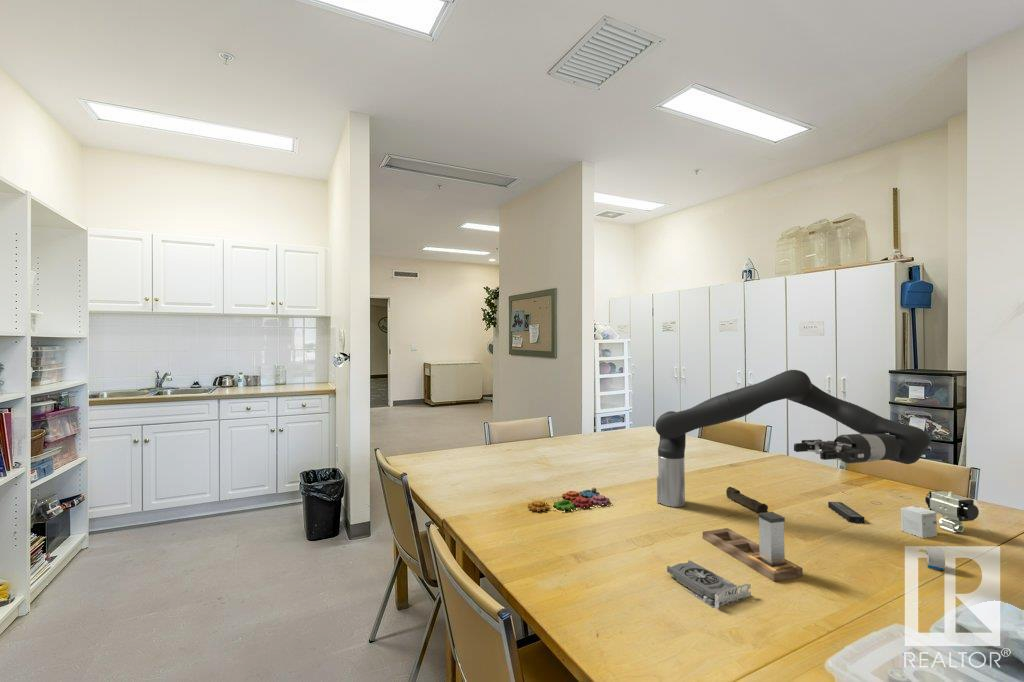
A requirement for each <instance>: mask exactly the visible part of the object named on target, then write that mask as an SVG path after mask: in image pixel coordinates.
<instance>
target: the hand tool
mask: <svg viewBox="0 0 1024 682" xmlns="http://www.w3.org/2000/svg"><path fill="white" fill-rule="evenodd" d="M725 493H726V497H727V499H728V500H730V499H731V500H730V501H731V502H733V501H734V503H738V504H740V505H742V506H745V507H746V508H748V509H750V510H752V511H754V512H756V513H757V514H758V513H765V512H768V510H769V506H768V505H767V504H766V503H762V502H760V501H758V500H756V499H754V498H751V497H749V496H747V495H745V494H743V493H741V490H739V489H737V488H735V487H733V486H728V487H727V488H726V491H725Z"/></svg>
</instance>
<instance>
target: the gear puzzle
mask: <svg viewBox="0 0 1024 682" xmlns="http://www.w3.org/2000/svg"><path fill="white" fill-rule="evenodd" d="M549 497H550V498H548V497H547V498H545V499H546V500H548V499H558V500H560V499H559V498H561V497H562V498H563V499H561V500H562V501H561V500H560V501H558V500H557V501H558V502H554V505H553V507H554V508H556V509H557V510H559V511H564V510H568V511H570V510H571V509H572V510H576V508H577V509H584V510H585V508H584V507H588V509H589V508H590V507H595V506H597V507H598V506H602V507H603V505H602V504H605V505H604V506H607V505H611V504H613V503H612V502H611V500H610V498H609V497H606V496H605V495H603V494H600V492H598V491H597V488H596V487H592V488H591V490H590V489H585V490H582V491H579V492H578V491H576V490H575V491H574V490H568V491H566V492H565V493H564V492H563V493H562V495H561V496H555V497H554V496H549ZM553 501H554V500H553ZM593 505H594V506H593ZM548 506H549V507H548ZM611 506H612V505H611ZM595 508H596V507H595ZM598 508H599V507H598ZM527 509H529V510H531V511H532V510H533V511H536V510H537V511H536V512H538V511H539V512H546V511H547V510H546V509H549V510H550V505H548V504H545V502H543V500H534V501H533V500H532V502H531V503H527ZM541 510H543V511H541ZM545 510H546V511H545Z"/></svg>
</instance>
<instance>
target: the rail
mask: <svg viewBox="0 0 1024 682" xmlns="http://www.w3.org/2000/svg"><path fill="white" fill-rule="evenodd" d="M726 538H727V539H728V538H729V539H728V541H726V540H725V539H726ZM702 539H703V540H704V541H706V542H708V543H710V544H711V545H713V546H715V547H716V548H718V549H720V550H721V551H723V552H725V553H726V554H727V555H730V556H731V557H732V558H734V559H736V560H737V561H739V562H741V563H742V564H744V565H746V566H747V567H749V568H751V569H753V570H754V571H755V572H758V573H759V574H760V575H762V576H764V577H766V578H767V579H769V580H770V581H772V582H779V581H784V580H790V579H795V578H801V577H803V576H804V574H803V570H804V569H803V567H801V566H799V565H798V564H796V563H794V562H792V561H790V560H788V559H786V558H785V565H782V566H776V567H771V566H769V565H767V564H765V563H764V562H762V561H760V549H759V544H758V543H756V542H754V541H753V540H751V539H749V538H747V537H745V536H743V535H742V534H739V533H737V532H736V531H734V530H732V529H730V528H728V527H726V528H720V529H719V528H718V529H712V530H706V531H704V530H703V531H702ZM745 551H750V552H751V553H747V552H745Z"/></svg>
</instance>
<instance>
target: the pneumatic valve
mask: <svg viewBox="0 0 1024 682" xmlns="http://www.w3.org/2000/svg"><path fill="white" fill-rule="evenodd" d="M924 500H925V504H926V505H927V509H929V510H931V511H934V512H936V514H939V515H941V516H942V517H941V518H940V519H939V522H938V523H939V525H940V529H942V530H944V531H947V532H949V533H952V534H956V533H963V532H964V531H965V528H964V525H963V522H970V521H975V520H976V519H977V518H978V516H979V514H980V512H979V508H978V506H977V505H976V504H975V502H974V499H972V498H969V497H965V496H961V495H959V494H955V493H954V492H953V491H951V490H950V491H948V492H947V491H944V490H931V491H930V490H929V492H928V493H927V494H926V496H925V499H924Z"/></svg>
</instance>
